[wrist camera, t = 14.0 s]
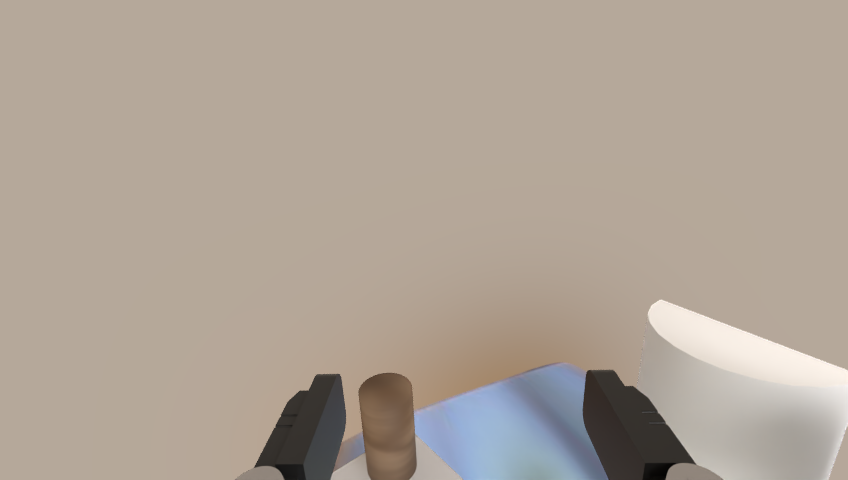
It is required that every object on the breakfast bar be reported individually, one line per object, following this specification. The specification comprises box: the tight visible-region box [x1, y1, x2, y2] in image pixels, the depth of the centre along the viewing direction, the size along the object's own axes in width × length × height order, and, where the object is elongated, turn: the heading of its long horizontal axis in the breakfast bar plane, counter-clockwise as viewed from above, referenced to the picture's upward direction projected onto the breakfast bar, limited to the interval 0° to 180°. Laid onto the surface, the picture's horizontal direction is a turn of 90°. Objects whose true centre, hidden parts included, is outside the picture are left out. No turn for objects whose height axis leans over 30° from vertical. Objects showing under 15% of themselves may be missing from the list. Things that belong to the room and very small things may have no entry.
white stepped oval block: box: [637, 300, 848, 480], centre depth 45 cm, size 17×17×28 cm
